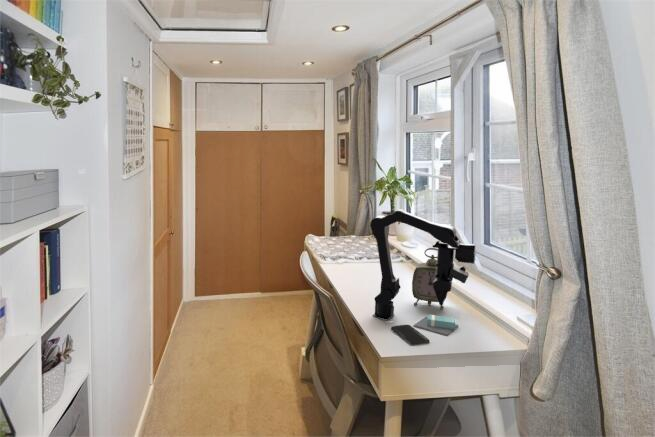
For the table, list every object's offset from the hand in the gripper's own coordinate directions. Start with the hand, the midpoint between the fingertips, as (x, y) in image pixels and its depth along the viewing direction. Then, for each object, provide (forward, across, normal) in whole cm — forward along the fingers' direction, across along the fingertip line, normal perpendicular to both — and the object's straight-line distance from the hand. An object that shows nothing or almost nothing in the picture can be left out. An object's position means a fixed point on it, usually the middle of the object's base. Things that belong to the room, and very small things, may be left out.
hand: (442, 301), depth 168 cm
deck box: (+8, 0, +5) cm, 9 cm away
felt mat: (+10, -1, +2) cm, 10 cm away
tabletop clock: (+10, +21, +6) cm, 24 cm away
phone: (+10, -13, +10) cm, 19 cm away
